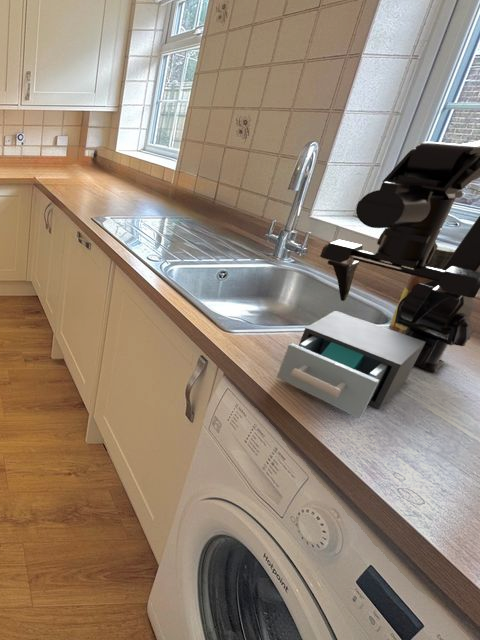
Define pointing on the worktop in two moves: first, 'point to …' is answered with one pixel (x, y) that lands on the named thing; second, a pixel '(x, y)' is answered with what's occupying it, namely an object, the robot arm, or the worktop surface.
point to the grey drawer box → (371, 347)
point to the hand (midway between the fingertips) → (376, 311)
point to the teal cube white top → (343, 356)
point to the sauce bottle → (422, 280)
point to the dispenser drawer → (332, 376)
